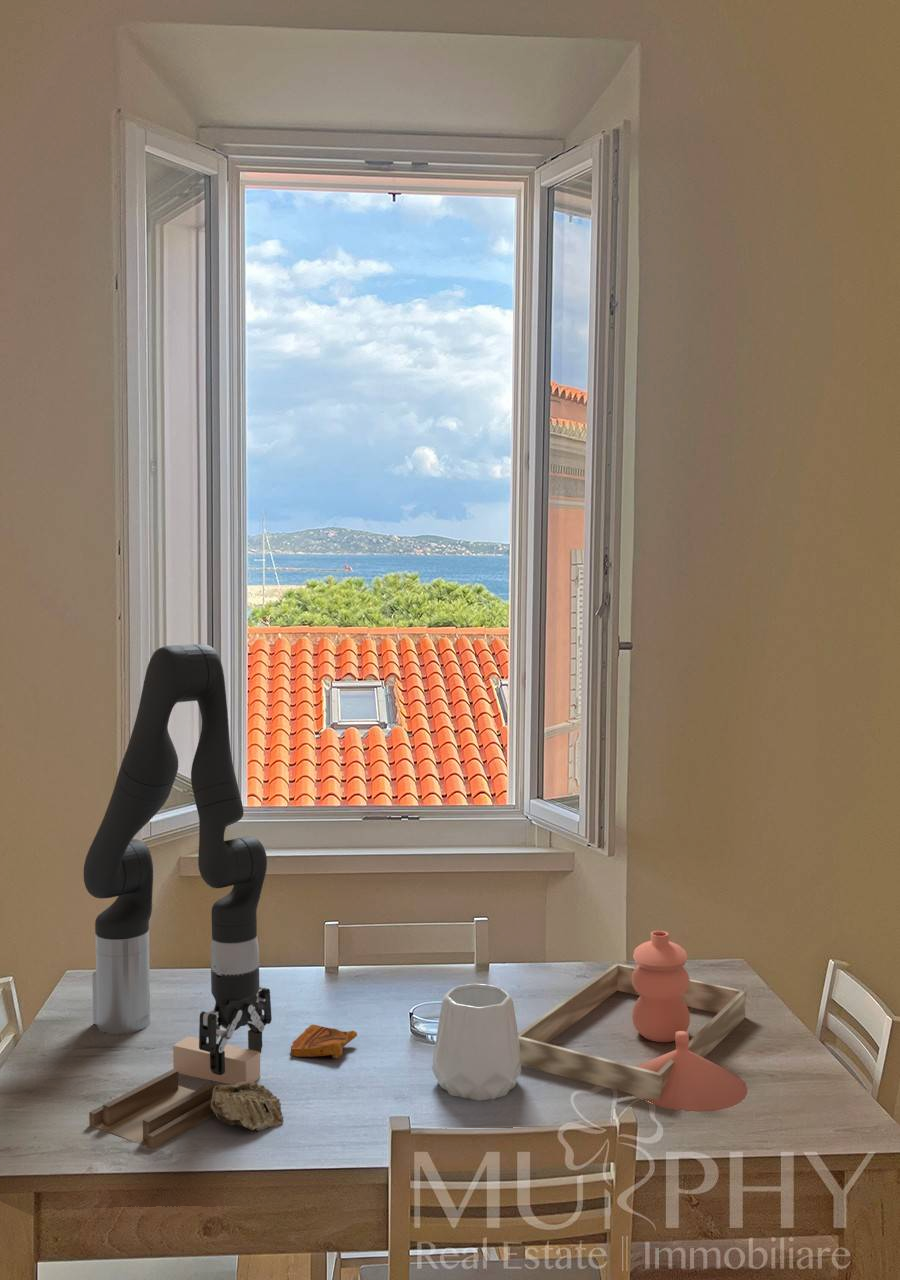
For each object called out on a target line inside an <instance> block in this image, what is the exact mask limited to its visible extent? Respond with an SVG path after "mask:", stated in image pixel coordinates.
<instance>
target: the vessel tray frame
mask: <svg viewBox="0 0 900 1280" xmlns="http://www.w3.org/2000/svg"><path fill="white" fill-rule="evenodd" d="M636 967H637V966H636ZM636 967H635V966H631V965H630V966H629V965H625V964H620V963H614V964H613V965H612V966H610V967H609V968H607V969H606V970H604V971H602V973H600V974H598V975H597V976H596V977H595V978H593V979H592V980H590V981H589V982H588V983H586V984H585V985H583V986H582V987H581V988H579V989H578V990H577V991H575V992H574V993H572V994H571V995H569V996H568V997H566V998H565V999H564V1000H563V1001H562V1002H560V1003H559V1004H557V1005H556V1006H553V1008H551V1009H550V1010H548V1011H547V1012H546V1013H544V1014H543V1015H542V1016H540V1017H539V1018H538V1019H536V1020H535V1021H534V1022H532V1023H531V1024H529V1025H528V1026H526V1027H525V1028H524V1029H522V1030H521V1031H518V1037H519V1045H520V1054H521V1067H525V1068H528V1069H533V1070H537V1071H541V1072H545V1073H547V1074H548V1073H549V1074H553V1075H557V1076H561V1077H565V1078H568V1079H572V1080H576V1081H579V1082H584V1083H588V1084H591V1085H595V1086H600V1087H603V1088H608V1089H611V1090H612V1089H613V1090H615V1091H620V1092H622V1093H623V1092H624V1093H626V1094H627V1093H628V1094H630V1095H631V1096H634V1097H633V1098H635V1097H636V1098H635V1099H639V1098H640V1100H641V1099H656V1100H660V1098H661V1095H662V1092H663V1090H664V1087H665V1085H666V1082H667V1080H668V1077H669V1074H670V1072H671V1069H672V1067H673V1064H674V1061H672V1060H669V1061H668V1062H667V1063H666V1064H665V1065H664V1066H663V1067H662V1068H661V1069H660V1070H659V1071H658V1072H654V1071H650V1070H646V1069H642V1068H639V1067H636V1066H634V1065H630V1064H627V1063H624V1062H623V1063H622V1062H619V1061H615V1060H611V1059H608V1058H604V1057H600V1056H596V1055H593V1054H589V1053H584V1052H581V1051H577V1050H573V1049H569V1048H565V1047H563V1046H560V1045H559V1046H558V1045H554V1044H550V1043H549V1042H551V1041H552V1040H554V1039H555V1038H557V1037H559V1035H560V1034H562V1033H563V1032H565V1031H566V1030H567V1029H569V1028H570V1027H571V1026H573V1025H574V1024H575V1023H578V1021H579V1020H581V1019H582V1018H584V1017H585V1016H586V1015H587V1014H589V1013H590V1012H591V1011H592V1010H594V1009H595V1008H597V1007H598V1006H599V1005H601V1003H603V1002H605V1000H607V999H608V998H610V997H611V996H612V995H613V994H615V993H616V992H617V991H618V992H623V993H627V994H631V995H636V996H639V997H640V996H641V995H640V994H638V993H637V992H636V990H635V989H634V987H633V985H632V979H631V978H632V974H633V971H634V969H635V968H636ZM681 998H682V999H683V1000H684V1002H685V1003H686V1005H687V1007H689V1008H691V1009H692V1008H693V1009H697V1010H702V1011H706V1012H711V1013H714V1014H716V1015H715V1016H714V1017H713V1018H712V1019H711V1020H709V1021H708V1022H707V1023H706V1024H705V1025H704V1027H703V1028H701V1029H700V1030H699V1031H698V1032H697V1033H696V1034H695V1035H694V1036H692V1038H691V1039H689V1051H691V1052H693V1053H695V1054H697V1055H699V1056H701V1057H703V1058H705V1057H707V1055H708V1054H709V1053H710V1052H712V1050H713V1049H714V1048H715V1047H716V1046H717V1045H718V1044H719V1043H721V1041H722V1040H724V1039H725V1038H726V1037H727V1036H728V1035H729V1034H730V1033H731V1032H732V1031H733V1030H734V1029H735V1028H736V1027H737V1026H738V1025H739V1024H740V1023H741V1022H742V1021H743V1020H744V1019H745V1018H746V1008H747V1007H746V1003H747V991H746V990H741V989H738V988H732V987H728V986H724V985H723V986H722V985H719V984H715V983H714V984H713V983H709V982H705V981H700V980H695V979H690V978H689V987H688V989H687V991H686V992H685V994H684V995H682V996H681ZM631 1096H630V1097H631Z"/></svg>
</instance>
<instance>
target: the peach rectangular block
mask: <svg viewBox="0 0 900 1280" xmlns="http://www.w3.org/2000/svg"><path fill="white" fill-rule="evenodd" d="M207 1042H209V1039H207ZM216 1043H218V1042H216ZM172 1050H173V1051H172V1053H173V1054H172V1055H173V1056H172V1058H173V1059H172V1061H173V1065H172V1067H173V1068H172V1069H174V1070H177V1071H178V1074H181V1075H185V1076H189V1077H194V1078H197V1079H198V1078H199V1079H203V1080H208V1081H213V1082H219V1083H223V1084H225V1085H234V1084H236V1083H238V1082H245V1081H246V1082H253V1083H256V1082H257V1081H258V1080H259V1079H261V1054H260V1052H258V1051H254V1050H249V1049H248V1048H244V1047H239V1046H234V1045H230V1044H226V1045H225V1048H224V1050H223V1051H225V1073H224V1074H222V1075H217V1074H214V1073H213V1072H212V1071H211V1069H210V1052H207V1051H204V1050H200V1049H199V1037H195V1036H189V1035H188V1036H186V1037H185V1038H183V1039H181V1040H180V1041H178V1042H177V1043H175V1044H173V1045H172Z"/></svg>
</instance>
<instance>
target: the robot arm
mask: <svg viewBox="0 0 900 1280" xmlns="http://www.w3.org/2000/svg"><path fill="white" fill-rule="evenodd" d="M226 691H227V690H226V682H225V673H224V668H223V664H222V660H221V658H220V656H219V654H218V652H217V651H216V649H215V648H214V647H212V646H211V645H208V644H206V643H205V644H204V643H203V644H200V643H198V644H197V643H196V644H182V645H181V644H180V645H166V646H162V647H159V648H157V649H156V650H155V651H154V652H153V654H152V655H151V658H150V659H149V662H148V665H147V668H146V672H145V677H144V681H143V685H142V691H141V695H140V700H139V705H138V710H137V713H136V714H137V715H136V718H135V721H134V725H133V729H132V732H131V734H130V739H129V741H128V744H127V747H126V749H125V750H126V751H125V752H124V756H123V759H122V761H121V763H120V767H119V770H118V772H117V773H118V774H117V776H116V777H117V778H116V781H115V784H114V787H113V791H112V794H111V797H110V799H109V802H108V806H107V807H106V811H105V813H104V816H103V818H102V821H101V823H100V825H99V828H98V830H97V831H96V834H95V836H94V839H93V840H92V841H91V842H92V843H91V844H90V846H89V849H88V851H87V854H86V857H85V861H84V864H83V865H84V866H83V883H84V886H85V889H86V891H87V892H88V893H89V894H90V895H91V896H92V897H93V898H96V899H110V898H115V897H117V898H116V899H115V900H114V901H113V902H112V904H110V905H109V906H108V907H107V908H106V909H105V910H103V911H102V912H101V913H99V914H98V915H96V919H95V922H94V930H95V931H94V933H95V939H94V940H95V971H94V972H93V973H92V977H91V978H92V981H91V982H92V1020H93V1021H92V1022H93V1023H92V1024H93V1025H94V1024H95V1026H96V1027H97V1030H98V1029H99V1030H100V1031H99V1030H98V1031H99V1032H101V1031H102V1033H104V1032H106V1033H105V1034H109V1033H114V1034H113V1035H125V1034H124V1033H126V1034H131V1032H132V1033H135V1032H136V1033H137V1032H139V1031H142V1030H144V1029H146V1028H148V1026H149V1025H151V1024H150V1023H151V984H150V983H151V981H150V980H151V979H150V978H151V975H150V971H151V970H150V920H151V916H152V911H153V890H154V889H153V888H154V864H153V863H154V862H153V858H152V854H151V851H150V849H149V847H148V846H147V844H146V843H145V842H143V841H142V840H141V839H137V838H136V839H134V837H135V836H136V835H137V834H138V833H139V832H140V831H141V830H142V829H143V827H145V826H146V825H147V824H148V823H149V822H150V821H151V820H152V819H153V817H155V816H156V814H158V812H159V811H160V810H161V809H162V808H163V807H164V805H165V804H166V802H167V800H168V799H169V796H170V794H171V792H172V790H173V786H174V783H175V781H176V777H177V774H178V770H179V759H178V758H179V757H178V754H177V750H176V749H175V745H174V743H173V741H172V738H171V736H170V733H169V730H168V726H169V721H170V717H171V714H172V712H173V711H172V710H173V709H174V707H175V705H177V703H186V702H196V701H197V704H198V708H199V711H200V717H201V730H200V735H199V740H198V743H197V747H196V749H195V753H194V756H193V759H192V764H191V770H190V771H191V772H190V782H191V789H192V794H193V797H194V798H193V799H194V803H195V805H196V806H195V807H196V810H197V814H198V819H199V820H198V822H199V824H198V825H199V828H198V830H199V831H198V833H199V835H198V840H199V841H198V843H199V844H198V854H197V855H198V856H197V858H198V859H197V860H198V864H197V865H198V870H199V875H200V876H201V878H202V880H203V881H204V882H205V884H206V885H208V886H209V887H211V888H213V889H224V888H227V887H231V886H233V887H232V889H231V891H230V892H229V893H228V894H227V895H225V896H223V897H222V898H220V899H218V900H217V901H215V902H214V903H213V904H212V907H211V945H210V946H211V947H210V984H211V985H210V986H211V987H210V989H211V990H210V991H211V995H212V996H213V998H214V1000H215V1003H214V1008H213V1010H210V1011H208V1012H207V1011H201V1012H200V1014H199V1025H198V1026H199V1029H198V1033H199V1034H198V1038H199V1049H200V1050H204V1051H207V1052H210V1069H211V1071H212V1072H213V1073H214V1074H217V1075H222V1074H224V1073H225V1051H223V1050H224V1048H225V1045H227V1043H228V1040H230V1039H232V1038H233V1034H234V1032H235V1031H237V1030H238V1029H240V1028H241V1027H244V1026H247V1028H248V1029H249V1030H247V1043H248V1045H247V1049H249V1050H254V1051H258V1052H260V1055H261V1053H262V1049H263V1031H264V1030H265V1026H267V1025H270V1024H271V1023H272V1021H273V1019H272V1004H271V989H270V988H266V987H263V986H260V952H259V951H260V949H259V940H258V927H257V923H258V920H257V919H258V918H257V916H258V915H257V914H258V913H257V911H258V905H259V902H260V898H261V894H262V890H263V886H264V885H263V884H264V883H265V878H266V874H267V869H268V859H267V858H268V856H267V853H266V850H265V846H264V845H263V844H262V842H261V841H260V840H259V839H257V838H256V837H253V836H242V837H238V838H233V839H228V840H227V839H226V840H225V832H226V828H227V827H228V826H231V825H233V824H235V823H238V822H239V821H241V820H242V818H243V817H244V813H245V811H244V807H243V806H244V805H243V802H242V799H241V798H242V797H241V793H240V790H239V784H238V782H237V781H238V779H237V776H236V772H235V767H234V763H233V758H232V757H233V756H232V752H231V743H230V742H231V740H230V739H231V738H230V727H229V714H228V701H227V693H226ZM221 1027H222V1028H223V1029H225V1030H221V1029H220V1028H221ZM143 1028H144V1029H143ZM141 1029H142V1030H141ZM207 1038H208V1039H207ZM219 1038H220V1039H219ZM218 1039H219V1041H218ZM207 1040H208V1041H209V1042H207ZM217 1041H218V1042H217ZM216 1042H217V1043H216Z"/></svg>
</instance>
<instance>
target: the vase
mask: <svg viewBox="0 0 900 1280" xmlns="http://www.w3.org/2000/svg"><path fill="white" fill-rule="evenodd" d="M514 1005H515V1004H514V1001H513V998H512V996H511V995H510V994H509V993H508V992H507V991H506V990H505V989H503V988H501V987H500V986H499V987H498V986H495V985H493V984H485V983H467V984H461V985H458V986H454V987H453V988H451V989H449V990H448V991H447V992H446V993H445V995H444V996H443V999H442V1002H441V1007H440V1012H439V1013H440V1014H439V1018H438V1024H437V1025H438V1026H437V1032H436V1037H435V1044H434V1051H433V1058H432V1066H431V1068H432V1072H433V1075H434V1077H435V1079H436V1080H437V1082H438V1083H439V1087H440V1088H441V1089H443V1090H445V1091H447V1093H448V1095H449V1096H451V1097H453V1096H454V1097H461V1098H462V1099H471V1100H474V1101H486V1100H495V1099H497V1098H501V1097H506V1096H507V1095H508V1093H509V1092H510V1091H511V1090H512V1089H514V1088H515V1086H517V1085H516V1084H517V1082H518V1079H519V1078H520V1075H521V1071H522V1066H521V1054H520V1045H519V1037H518V1033H519V1030H518V1024H517V1019H516V1018H517V1016H516V1012H515V1011H516V1010H515V1006H514Z"/></svg>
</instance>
